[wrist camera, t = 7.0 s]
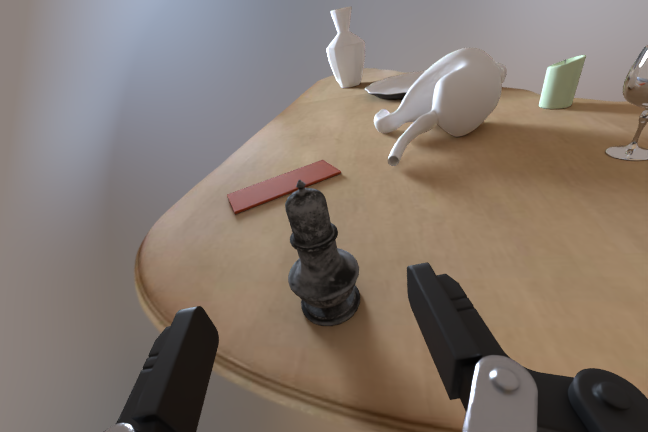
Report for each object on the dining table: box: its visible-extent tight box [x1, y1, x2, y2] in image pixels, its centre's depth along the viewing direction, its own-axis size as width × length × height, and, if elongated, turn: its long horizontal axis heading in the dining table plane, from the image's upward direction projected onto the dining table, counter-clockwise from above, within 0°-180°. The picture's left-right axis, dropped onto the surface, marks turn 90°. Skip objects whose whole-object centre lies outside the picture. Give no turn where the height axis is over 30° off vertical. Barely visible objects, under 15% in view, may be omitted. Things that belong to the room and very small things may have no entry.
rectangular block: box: [227, 160, 341, 214], centre depth 46 cm, size 18×7×1 cm, turn 116°
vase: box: [327, 7, 365, 88], centre depth 105 cm, size 14×14×25 cm
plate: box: [364, 71, 425, 99], centre depth 86 cm, size 29×29×2 cm
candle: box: [539, 55, 586, 109], centre depth 51 cm, size 5×5×8 cm
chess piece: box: [285, 180, 360, 326], centre depth 21 cm, size 6×6×12 cm
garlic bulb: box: [496, 63, 506, 83], centre depth 70 cm, size 6×6×5 cm
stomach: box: [374, 48, 502, 166], centre depth 49 cm, size 23×13×24 cm
